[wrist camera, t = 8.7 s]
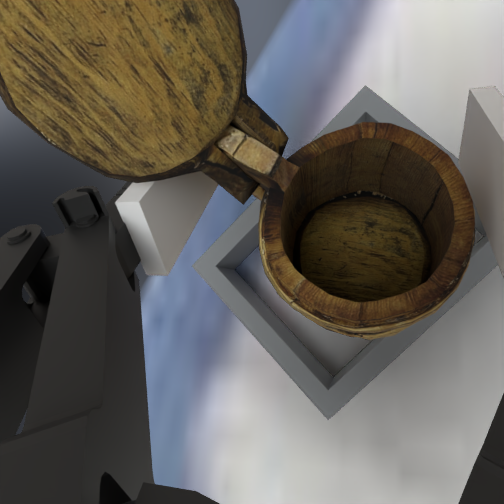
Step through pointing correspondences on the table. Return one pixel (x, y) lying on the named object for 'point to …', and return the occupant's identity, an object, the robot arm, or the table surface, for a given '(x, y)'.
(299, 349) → the hollow square frame
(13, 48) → the wooden mug
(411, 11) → the table surface
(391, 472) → the table surface
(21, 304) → the robot arm
